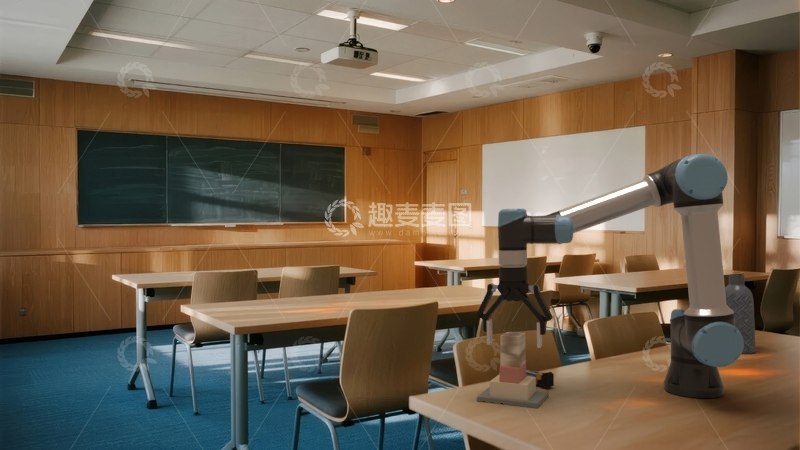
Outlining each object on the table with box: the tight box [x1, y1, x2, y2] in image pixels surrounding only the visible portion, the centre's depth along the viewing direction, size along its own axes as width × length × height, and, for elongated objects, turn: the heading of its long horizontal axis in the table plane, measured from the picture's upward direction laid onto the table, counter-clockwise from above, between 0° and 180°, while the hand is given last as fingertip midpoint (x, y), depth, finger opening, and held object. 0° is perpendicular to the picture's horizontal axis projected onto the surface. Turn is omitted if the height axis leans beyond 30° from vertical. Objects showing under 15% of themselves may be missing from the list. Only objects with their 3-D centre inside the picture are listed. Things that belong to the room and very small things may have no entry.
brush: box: [526, 369, 555, 388], centre depth 186 cm, size 6×4×15 cm
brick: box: [499, 331, 526, 368], centre depth 170 cm, size 5×7×8 cm
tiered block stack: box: [476, 361, 549, 409], centre depth 170 cm, size 16×13×9 cm
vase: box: [725, 274, 757, 355], centre depth 235 cm, size 12×12×28 cm
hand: (514, 345), depth 170 cm, fingers open, 13 cm apart
